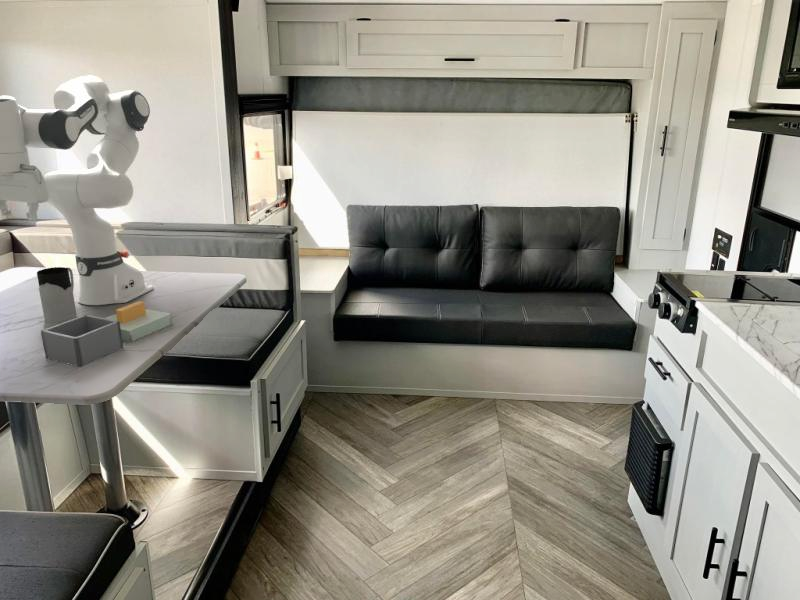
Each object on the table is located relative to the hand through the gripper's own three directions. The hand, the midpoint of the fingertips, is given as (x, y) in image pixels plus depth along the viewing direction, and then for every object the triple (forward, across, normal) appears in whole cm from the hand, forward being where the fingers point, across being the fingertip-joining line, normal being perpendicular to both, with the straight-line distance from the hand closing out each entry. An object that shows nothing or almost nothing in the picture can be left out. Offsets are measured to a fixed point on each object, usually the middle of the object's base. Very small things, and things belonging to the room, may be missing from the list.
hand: (19, 217), depth 162 cm
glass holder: (+30, -4, -5) cm, 30 cm away
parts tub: (+29, -28, +10) cm, 42 cm away
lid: (+29, -26, -7) cm, 40 cm away
